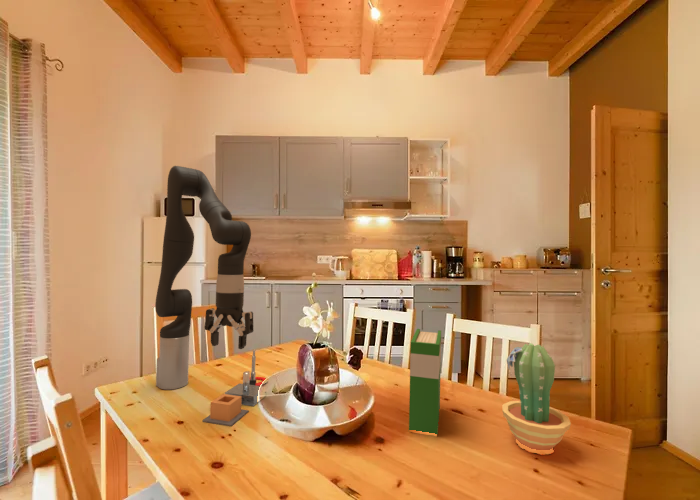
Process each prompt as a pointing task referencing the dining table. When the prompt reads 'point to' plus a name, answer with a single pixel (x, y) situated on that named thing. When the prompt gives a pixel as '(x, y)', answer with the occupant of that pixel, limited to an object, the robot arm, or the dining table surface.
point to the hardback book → (425, 381)
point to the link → (225, 407)
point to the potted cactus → (534, 400)
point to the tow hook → (253, 373)
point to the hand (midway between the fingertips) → (228, 346)
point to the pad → (226, 423)
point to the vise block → (245, 391)
